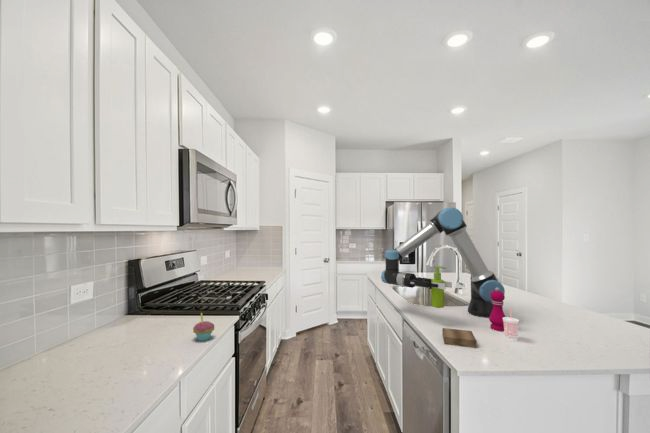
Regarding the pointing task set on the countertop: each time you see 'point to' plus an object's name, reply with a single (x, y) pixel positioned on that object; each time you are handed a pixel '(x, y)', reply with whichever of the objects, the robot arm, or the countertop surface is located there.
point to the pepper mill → (497, 310)
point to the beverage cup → (511, 328)
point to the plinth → (458, 337)
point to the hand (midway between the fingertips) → (448, 285)
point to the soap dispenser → (437, 290)
